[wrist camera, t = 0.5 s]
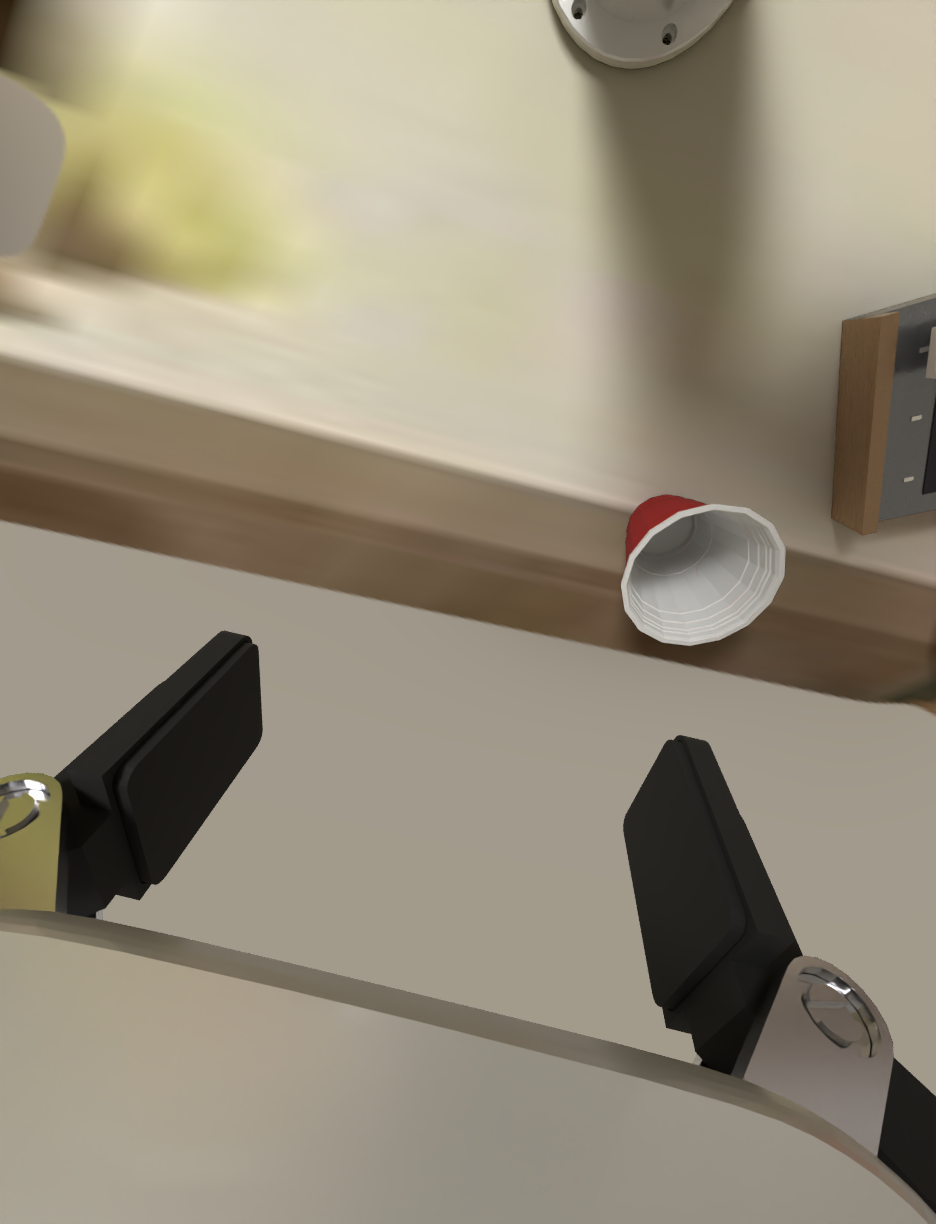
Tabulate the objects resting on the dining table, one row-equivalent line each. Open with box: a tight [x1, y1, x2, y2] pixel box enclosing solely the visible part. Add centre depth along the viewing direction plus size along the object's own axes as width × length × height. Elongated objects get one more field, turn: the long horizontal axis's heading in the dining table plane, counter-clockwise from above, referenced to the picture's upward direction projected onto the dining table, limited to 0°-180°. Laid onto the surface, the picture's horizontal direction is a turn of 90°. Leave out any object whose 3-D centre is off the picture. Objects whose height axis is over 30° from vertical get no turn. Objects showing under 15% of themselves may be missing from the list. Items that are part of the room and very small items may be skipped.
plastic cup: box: [621, 495, 786, 646], centre depth 37 cm, size 11×11×12 cm
